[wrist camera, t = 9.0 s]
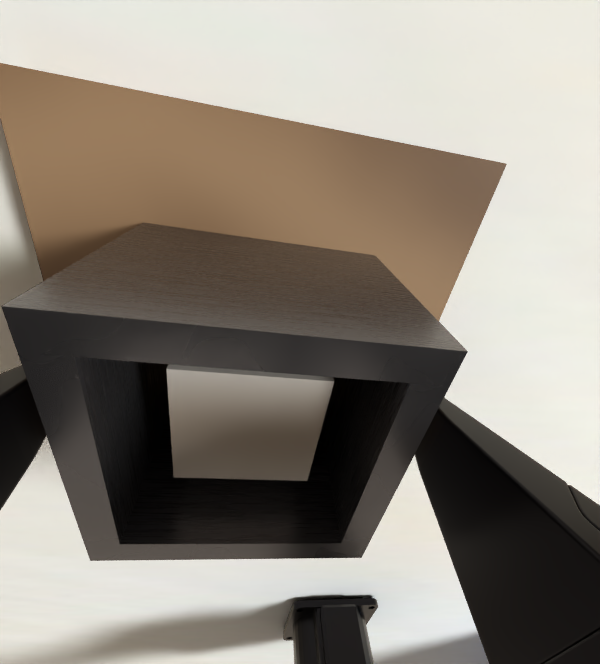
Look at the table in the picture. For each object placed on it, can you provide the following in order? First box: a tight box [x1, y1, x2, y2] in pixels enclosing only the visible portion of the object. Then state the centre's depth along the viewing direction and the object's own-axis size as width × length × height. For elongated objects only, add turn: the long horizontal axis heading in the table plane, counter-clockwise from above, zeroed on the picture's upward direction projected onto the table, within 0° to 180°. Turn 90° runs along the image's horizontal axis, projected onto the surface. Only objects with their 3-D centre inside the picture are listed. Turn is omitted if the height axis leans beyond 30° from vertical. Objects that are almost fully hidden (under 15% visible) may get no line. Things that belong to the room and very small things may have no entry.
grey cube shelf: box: [2, 222, 468, 561], centre depth 8 cm, size 6×6×5 cm
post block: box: [0, 63, 506, 481], centre depth 9 cm, size 12×12×5 cm
